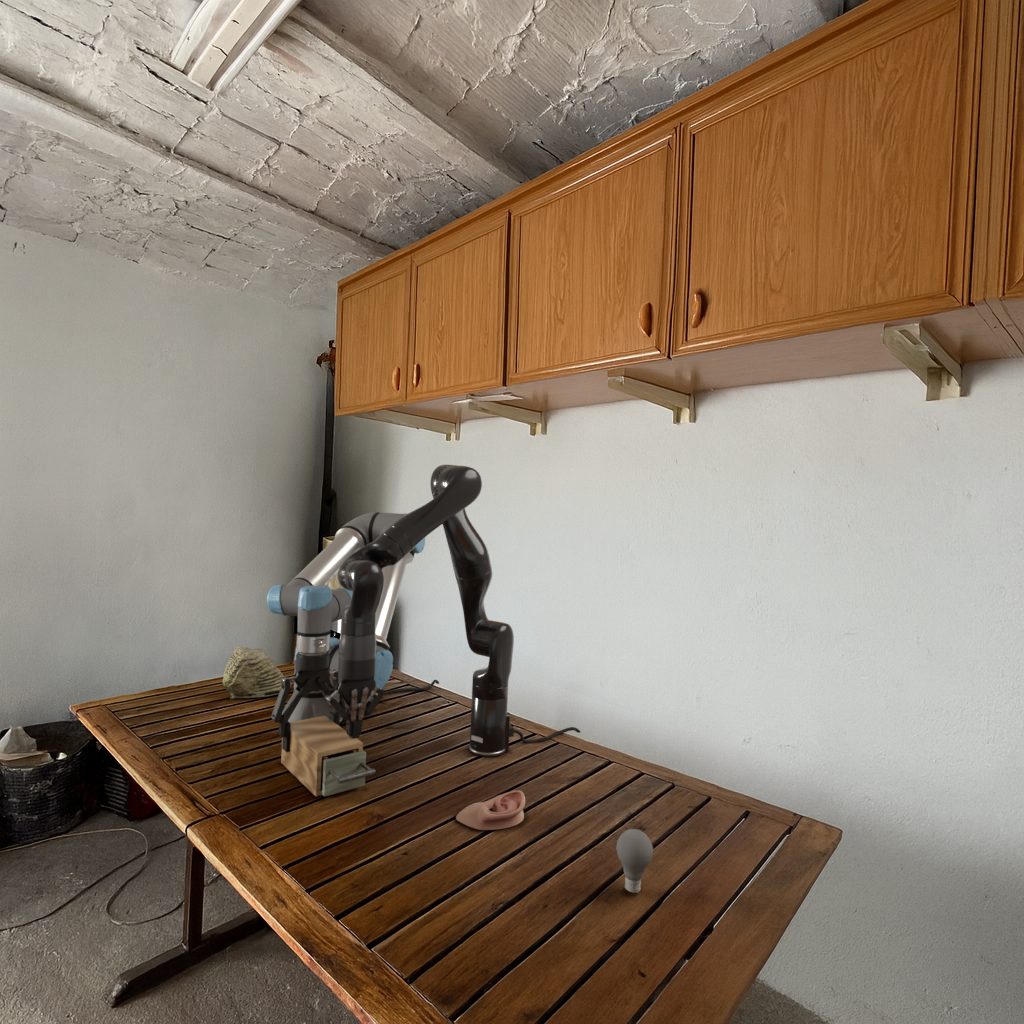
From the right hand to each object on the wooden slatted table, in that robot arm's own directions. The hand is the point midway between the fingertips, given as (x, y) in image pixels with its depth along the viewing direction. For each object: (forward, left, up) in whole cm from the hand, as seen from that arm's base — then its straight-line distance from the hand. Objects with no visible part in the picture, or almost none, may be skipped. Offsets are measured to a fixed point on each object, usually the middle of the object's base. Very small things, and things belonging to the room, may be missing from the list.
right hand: (353, 736), depth 132 cm
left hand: (+6, -22, -9) cm, 25 cm away
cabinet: (+4, -16, -14) cm, 21 cm away
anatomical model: (-25, +16, -14) cm, 33 cm away
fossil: (+15, -80, -14) cm, 82 cm away
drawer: (+3, -10, -13) cm, 16 cm away
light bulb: (-38, +47, -14) cm, 62 cm away
